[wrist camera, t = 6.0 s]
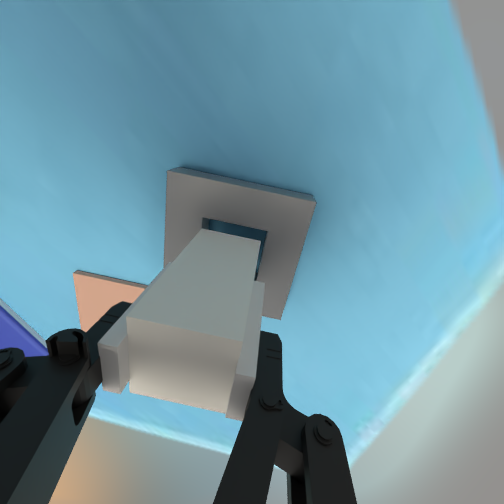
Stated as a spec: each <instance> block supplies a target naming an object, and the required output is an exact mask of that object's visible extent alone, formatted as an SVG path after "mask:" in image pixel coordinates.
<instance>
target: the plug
mask: <svg viewBox="0 0 504 504" xmlns="http://www.w3.org/2000/svg"><path fill="white" fill-rule="evenodd" d="M260 243H261V241H259V240H254V239H249V238H245V237H240V236H235V235H231V234H226V233H221V232H217V231H212V230H207V229H203V228H202V229H201V230H200V231H199V232H198V233H197V235H196V236H195V237H194V238H193V239H192V240H191V241H190V243H189V244H188V245H187V246H186V247H185V248H184V250H183V251H182V252H181V253H180V254H179V255H178V257H177V258H176V259H175V260H174V261H173V262H172V264H171V265H170V266H169V267H168V268H167V269H166V271H165V272H164V273H163V274H162V275H161V276H160V278H159V279H158V280H157V281H156V282H155V283H154V285H153V286H152V287H151V288H150V289H149V290H148V291H147V293H146V294H145V295H144V296H143V297H142V298H141V300H140V301H139V302H138V303H137V304H136V305H135V307H134V308H133V309H132V310H131V311H130V312H129V314H128V315H127V316H126V322H127V334H128V351H129V374H130V380H129V387H130V393H135V394H139V395H144V396H148V397H153V398H157V399H162V400H166V401H171V402H175V403H180V404H184V405H189V406H193V407H198V408H202V409H207V410H211V411H216V412H220V413H225V414H226V411H227V406H228V401H229V397H230V392H231V388H232V384H233V379H234V375H235V371H236V366H237V362H238V358H239V357H240V352H241V348H242V344H243V339H244V333H245V328H246V322H247V316H248V311H249V305H250V300H251V294H252V288H253V283H254V277H255V271H256V266H257V260H258V254H259V249H260Z"/></svg>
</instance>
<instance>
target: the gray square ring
mask: <svg viewBox="0 0 504 504" xmlns="http://www.w3.org/2000/svg"><path fill="white" fill-rule="evenodd" d="M316 203H317V202H316V200H315V199H314V197H313V195H309V194H304V193H299V192H295V191H290V190H285V189H281V188H276V187H271V186H266V185H262V184H257V183H252V182H248V181H243V180H238V179H233V178H229V177H224V176H219V175H215V174H210V173H205V172H200V171H196V170H191V169H186V168H182V167H178V168H174V169H171V170H167V188H166V216H165V243H164V267H165V266H166V265H167V264H168V263H169V262H170V263H172V262H173V261H174V260H175V259H176V258H177V257H178V255H179V254H180V253H181V252H182V251H183V250H184V248H185V247H186V246H187V245H188V244H189V243H190V241H191V240H192V239H193V238H194V237H195V236H196V235H197V233H198V232H199V231H200V230H201V229H202V228H203V229H207V230H208V227H209V219H213V220H218V221H223V222H227V223H232V224H237V225H241V226H246V227H251V228H255V229H260V230H265V231H267V233H266V238H265V242H264V246H263V251H262V255H261V259H260V264H259V268H258V272H255V277H254V281H258V282H263V283H265V288H264V298H263V308H262V316H265V317H270V318H274V319H279V320H281V317H282V313H283V310H284V307H285V304H286V300H287V297H288V294H289V290H290V287H291V284H292V281H293V277H294V274H295V271H296V268H297V264H298V261H299V258H300V255H301V251H302V248H303V245H304V242H305V238H306V235H307V232H308V229H309V225H310V222H311V219H312V216H313V212H314V209H315V206H316Z"/></svg>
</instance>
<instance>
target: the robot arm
mask: <svg viewBox="0 0 504 504" xmlns="http://www.w3.org/2000/svg"><path fill="white" fill-rule="evenodd" d="M171 264H172V263H170V262H169V263H168V264H167V265H166V266H165V267H164V269H163V270H162V271H161V272H160V273H159V274H158V275H157V276H156V278H155V279H154V280H153V281H152V282H151V283H150V284H149V285H148V287H147V288H146V289H145V290H144V291H143V292H142V293H141V294H140V296H139V297H138V298H137V299H136V300H135V301H134V302H133V303H129V302H124V301H121V302H119V303H117V304H116V305H114V306H112V307H111V308H110V309H109V310H108V311H107V312H106V313H105V315H103V316H102V317H101V318H100V319H99V321H97V322H96V323H95V324H94V325H93V326H92V327H91V328H90V329H89V330H88V331H87V332H84V331H83V330H81V329H76V328H75V329H66V330H62V331H59V332H57V333H55V334H53V335H52V336H50V337H49V338H48V339H47V340H46V345H47V349H48V353H49V355H47V356H31V357H25V354H24V352H23V350H21V349H19V348H12V347H9V348H4V349H0V504H48V503H49V501H50V499H51V496H52V494H53V492H54V490H55V488H56V485H57V483H58V481H59V479H60V476H61V474H62V472H63V470H64V467H65V465H66V463H67V461H68V459H69V456H70V454H71V452H72V450H73V447H74V445H75V443H76V441H77V438H78V436H79V434H80V432H81V429H82V427H83V425H84V423H85V421H86V418H87V416H88V414H89V412H90V409H91V407H92V405H93V403H94V400H95V396H96V393H95V390H96V389H97V388H98V386H99V385H100V384H101V382H102V386H103V390H105V391H109V392H114V393H118V394H121V393H122V391H123V389H124V388H125V386H126V384H127V383H128V381H129V380H130V374H129V351H128V334H127V322H126V316H127V315H128V314H129V312H130V311H131V310H132V309H133V308H134V307H135V305H136V304H137V303H138V302H139V301H140V300H141V298H142V297H143V296H144V295H145V294H146V293H147V291H148V290H149V289H150V288H151V287H152V286H153V285H154V283H155V282H156V281H157V280H158V279H159V278H160V276H161V275H162V274H163V273H164V272H165V271H166V269H167V268H168V267H169V266H170V265H171ZM264 288H265V283H263V282H258V281H254V283H253V288H252V294H251V300H250V305H249V311H248V316H247V322H246V328H245V333H244V339H243V344H242V348H241V352H240V357H239V358H238V362H237V366H236V371H235V375H234V379H233V384H232V388H231V392H230V397H229V401H228V406H227V411H226V418H231V419H235V420H240V421H243V422H242V425H241V427H240V430H239V433H238V436H237V438H236V441H235V444H234V447H233V450H232V452H231V455H230V458H229V461H228V463H227V466H226V469H225V472H224V474H223V477H222V480H221V483H220V486H219V488H218V491H217V494H216V496H215V499H214V502H213V504H266V500H267V495H268V490H269V485H270V481H271V476H272V471H273V467H274V464H275V465H276V466H278V467H279V468H281V469H282V470H284V471H285V472H287V494H288V495H287V496H288V504H357V501H356V497H355V493H354V488H353V484H352V479H351V474H350V470H349V465H348V461H347V456H346V452H345V447H344V443H343V438H342V435H341V433H340V430H339V428H338V427H337V426H336V424H335V423H334V422H333V421H332V420H331V419H330V418H328V417H327V416H324V415H322V414H313V415H311V416H310V417H307V416H306V415H304V414H302V413H301V412H299V411H297V410H296V409H294V408H293V407H292V406H291V405H290V404H289V403H288V402H287V400H286V398H285V396H284V394H283V385H282V342H281V340H280V338H279V336H278V334H274V333H269V332H265V331H260V329H261V319H262V308H263V298H264Z"/></svg>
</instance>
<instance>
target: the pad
mask: <svg viewBox="0 0 504 504" xmlns="http://www.w3.org/2000/svg"><path fill="white" fill-rule="evenodd" d="M73 277H74V284H75V291H76V298H77V304H78V311H79V318H80V324H81V330H83V331H84V332H87V331H88V330H89V329H90V328H91V327H92V326H93V325H94V324H95V323H96V322H97V321H99V319H100V318H101V317H102V316H103V315H105V313H106V312H107V311H108V310H109V309H110V308H111V307H112V306H114V305H116V304H117V303H119V302H121V301H124V302H129V303H133V302H134V301H135V300H136V299H137V298H138V297H139V296H140V294H141V293H142V292H143V291H144V290H145V289H146V288H147V287H148V286H147V285H142V284H138V283H133V282H129V281H124V280H119V279H115V278H110V277H106V276H101V275H97V274H92V273H87V272H83V271H78V270H77V271H75V272H74V273H73Z"/></svg>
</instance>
